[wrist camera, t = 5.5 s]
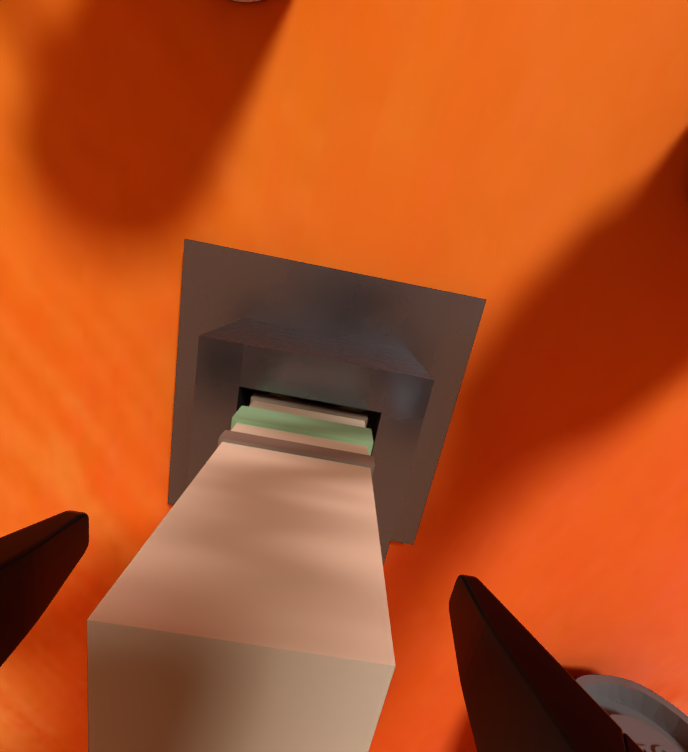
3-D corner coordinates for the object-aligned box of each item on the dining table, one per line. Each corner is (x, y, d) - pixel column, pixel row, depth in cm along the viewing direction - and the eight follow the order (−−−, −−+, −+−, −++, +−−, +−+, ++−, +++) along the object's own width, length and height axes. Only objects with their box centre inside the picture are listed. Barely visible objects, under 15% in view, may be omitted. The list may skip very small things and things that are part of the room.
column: (368, 410, 13) (409, 660, 5) (346, 507, 14) (346, 850, 6) (254, 390, 13) (74, 609, 4) (241, 489, 14) (79, 816, 5)
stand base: (480, 298, 17) (568, 312, 10) (410, 534, 21) (441, 659, 14) (192, 240, 16) (83, 213, 10) (174, 495, 20) (87, 605, 13)
